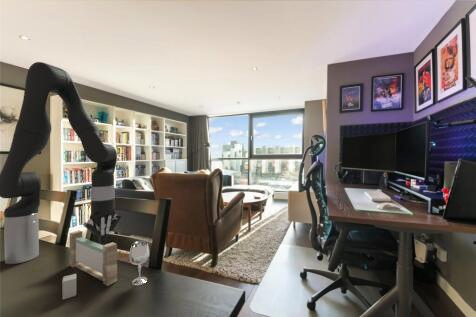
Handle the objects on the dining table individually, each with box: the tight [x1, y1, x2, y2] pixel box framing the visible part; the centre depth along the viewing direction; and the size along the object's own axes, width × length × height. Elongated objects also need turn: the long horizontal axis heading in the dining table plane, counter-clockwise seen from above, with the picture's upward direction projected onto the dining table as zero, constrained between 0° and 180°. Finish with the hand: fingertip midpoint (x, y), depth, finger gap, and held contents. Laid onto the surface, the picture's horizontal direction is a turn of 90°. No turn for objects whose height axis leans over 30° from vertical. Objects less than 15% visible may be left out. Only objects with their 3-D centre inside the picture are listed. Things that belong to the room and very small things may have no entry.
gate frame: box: [69, 230, 118, 287], centre depth 72 cm, size 24×3×12 cm, turn 61°
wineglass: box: [129, 240, 150, 286], centre depth 68 cm, size 6×6×12 cm
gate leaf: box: [76, 236, 104, 275], centre depth 72 cm, size 18×2×8 cm, turn 61°
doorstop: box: [61, 273, 77, 300], centre depth 61 cm, size 3×3×5 cm
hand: (103, 243), depth 79 cm, fingers closed
